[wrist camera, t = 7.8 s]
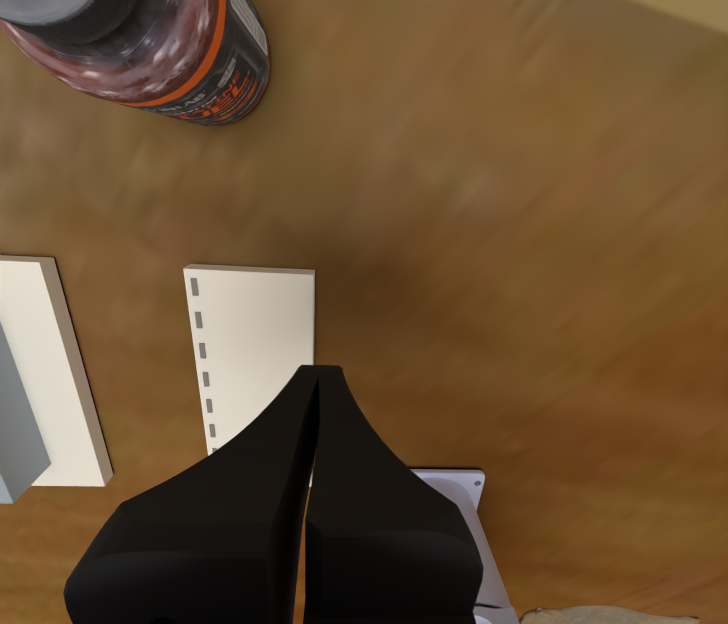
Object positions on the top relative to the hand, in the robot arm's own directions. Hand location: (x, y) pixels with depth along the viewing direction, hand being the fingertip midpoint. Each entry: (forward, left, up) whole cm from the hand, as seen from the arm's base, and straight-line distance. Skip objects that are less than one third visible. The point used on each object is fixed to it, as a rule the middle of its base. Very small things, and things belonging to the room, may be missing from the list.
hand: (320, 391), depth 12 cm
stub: (-7, +18, -10) cm, 22 cm away
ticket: (-7, +5, -10) cm, 13 cm away
